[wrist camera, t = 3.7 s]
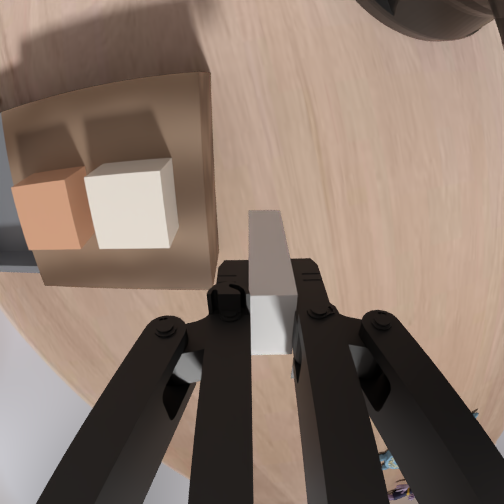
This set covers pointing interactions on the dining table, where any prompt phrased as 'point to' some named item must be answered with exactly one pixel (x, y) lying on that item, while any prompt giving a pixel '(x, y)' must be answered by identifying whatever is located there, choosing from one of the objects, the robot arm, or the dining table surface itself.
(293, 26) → the dining table surface
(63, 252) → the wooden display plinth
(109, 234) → the off-white block
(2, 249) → the box
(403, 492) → the toy
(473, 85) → the dining table surface
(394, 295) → the dining table surface
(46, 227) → the orange square block
